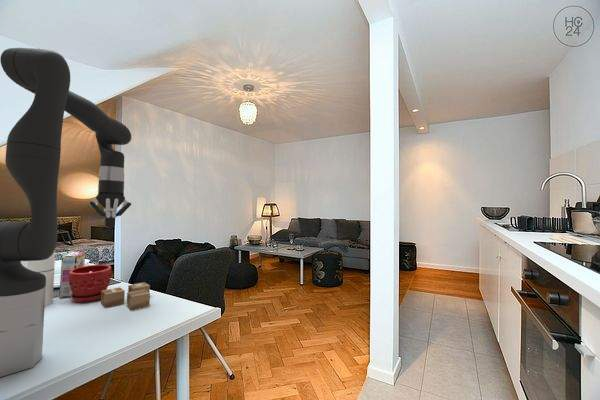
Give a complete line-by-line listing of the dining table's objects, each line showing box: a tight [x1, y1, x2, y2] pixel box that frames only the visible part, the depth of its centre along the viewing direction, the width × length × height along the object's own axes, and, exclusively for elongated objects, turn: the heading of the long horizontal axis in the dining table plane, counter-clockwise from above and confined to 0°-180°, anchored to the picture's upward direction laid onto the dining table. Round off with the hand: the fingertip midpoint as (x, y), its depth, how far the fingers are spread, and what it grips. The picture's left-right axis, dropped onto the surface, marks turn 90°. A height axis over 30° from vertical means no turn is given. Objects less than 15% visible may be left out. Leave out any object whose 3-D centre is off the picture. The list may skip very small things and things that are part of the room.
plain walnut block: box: [126, 289, 151, 311], centre depth 97 cm, size 6×6×5 cm
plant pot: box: [69, 264, 112, 303], centre depth 104 cm, size 13×13×12 cm
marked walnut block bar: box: [100, 287, 126, 309], centre depth 99 cm, size 6×6×5 cm
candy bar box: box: [58, 251, 86, 299], centre depth 109 cm, size 11×5×16 cm, turn 25°
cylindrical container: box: [26, 250, 56, 307], centre depth 96 cm, size 7×7×25 cm
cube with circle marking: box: [127, 281, 151, 293], centre depth 106 cm, size 6×6×5 cm
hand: (109, 228), depth 94 cm, fingers closed
